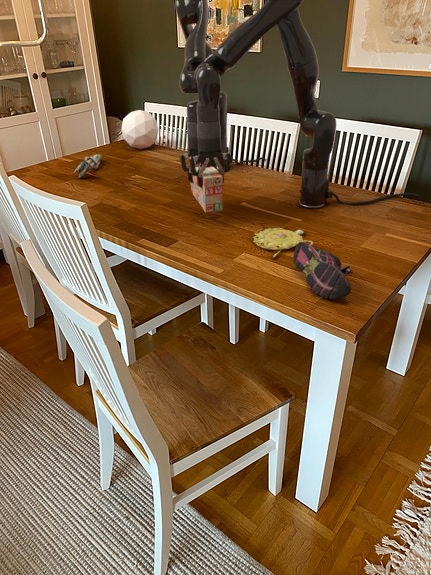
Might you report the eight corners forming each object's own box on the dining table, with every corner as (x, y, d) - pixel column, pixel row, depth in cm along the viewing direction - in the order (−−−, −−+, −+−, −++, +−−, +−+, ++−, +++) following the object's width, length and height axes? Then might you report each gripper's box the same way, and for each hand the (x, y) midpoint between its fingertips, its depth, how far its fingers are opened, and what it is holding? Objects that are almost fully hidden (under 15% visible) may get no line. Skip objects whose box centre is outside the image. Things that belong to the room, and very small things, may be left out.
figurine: (78, 158, 192) (99, 144, 218) (67, 172, 195) (90, 156, 221) (91, 170, 194) (110, 155, 220) (80, 183, 197) (101, 166, 224)
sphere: (134, 159, 245) (115, 127, 242) (165, 142, 247) (146, 110, 244) (133, 150, 226) (112, 115, 223) (166, 132, 228) (146, 97, 226)
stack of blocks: (190, 192, 167) (188, 159, 160) (206, 190, 168) (205, 157, 162) (205, 213, 149) (204, 177, 143) (223, 210, 151) (222, 175, 144)
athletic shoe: (337, 289, 105) (377, 281, 109) (296, 226, 117) (333, 221, 121) (320, 316, 114) (357, 308, 118) (283, 255, 126) (318, 250, 130)
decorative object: (267, 219, 151) (324, 228, 141) (267, 226, 152) (323, 235, 143) (237, 243, 137) (298, 255, 127) (238, 250, 138) (298, 263, 128)
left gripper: (180, 138, 148) (183, 186, 157) (221, 134, 151) (222, 181, 160) (175, 133, 154) (179, 180, 163) (215, 129, 158) (216, 175, 167)
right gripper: (189, 140, 135) (192, 192, 144) (234, 135, 138) (234, 186, 148) (184, 134, 141) (187, 185, 150) (226, 130, 145) (227, 179, 154)
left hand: (200, 180), depth 162 cm, fingers closed on stack of blocks, 6 cm apart
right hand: (210, 185), depth 149 cm, fingers closed on stack of blocks, 6 cm apart
